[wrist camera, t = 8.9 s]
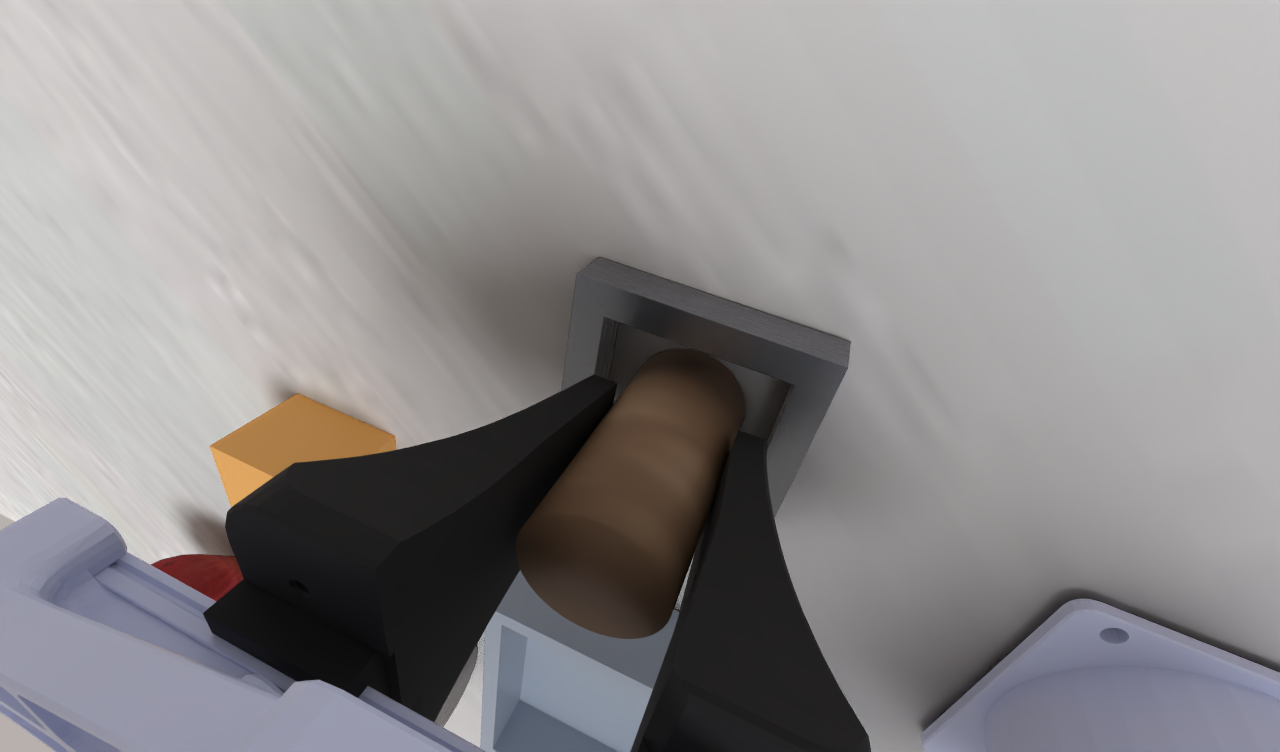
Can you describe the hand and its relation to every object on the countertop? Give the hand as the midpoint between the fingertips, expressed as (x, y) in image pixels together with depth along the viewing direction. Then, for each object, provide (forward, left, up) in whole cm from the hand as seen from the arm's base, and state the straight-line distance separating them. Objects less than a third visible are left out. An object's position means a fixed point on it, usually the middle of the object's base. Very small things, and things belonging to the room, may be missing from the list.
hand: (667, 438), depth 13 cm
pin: (0, 0, -2) cm, 2 cm away
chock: (+12, +8, -2) cm, 15 cm away
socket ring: (0, 0, -2) cm, 2 cm away
